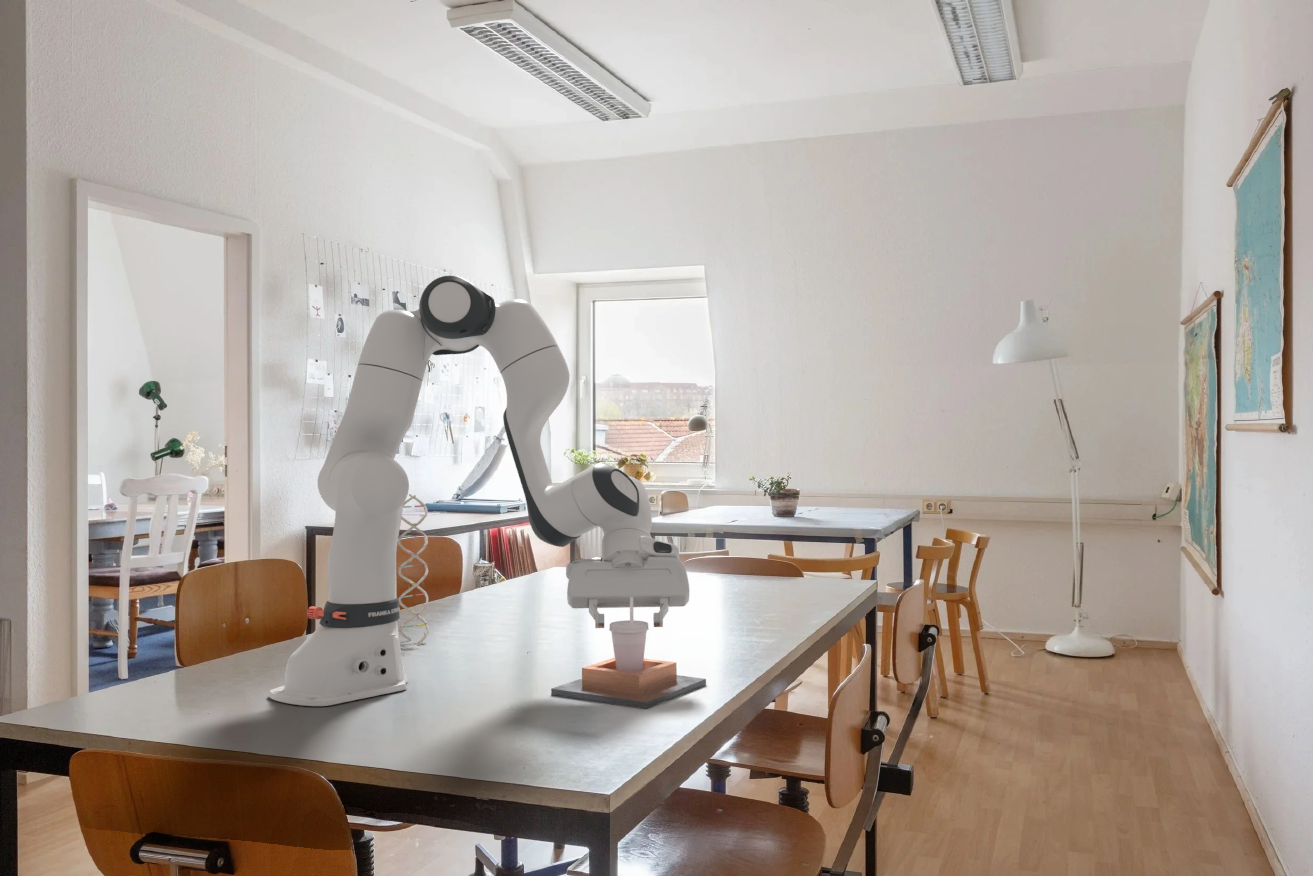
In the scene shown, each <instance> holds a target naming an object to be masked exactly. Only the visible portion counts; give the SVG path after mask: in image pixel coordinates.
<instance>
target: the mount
mask: <svg viewBox="0 0 1313 876" xmlns="http://www.w3.org/2000/svg"><path fill="white" fill-rule="evenodd" d="M705 686H707V679H706V678H703V677H702V678H701V677H693V676H686V675H679V674H678V671H677V662H676V661H669V660H660V659H653V658H644V660H643V670H642V671H639V672H629V671H621V670H616V663H615V657H613V658H612V657H611V658H609V659H606V660H603V661H600V662H596V663H594V664H590V665H587V666H583V667H581V678H580V679H576V680H573V681H570V682H567V683H565V684H561V685H558V686H554V687H551V689H550V691H551V693H550V694H551V696H558V697H563V698H571V699H575V700H584V701H589V702H597V703H604V704H609V705H616V706H623V707H627V708H628V707H630V708H637V709H642V710H648V709H650V708H653V707H654V706H657V705H660V704H663V703H665V702H667V701H670V700H672V699H675V698H678V697H680V696H682V695H685V694H687V693H689V692H692V691H695V690H697V689H700V688H702V687H705Z"/></svg>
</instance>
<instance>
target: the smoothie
mask: <svg viewBox="0 0 1313 876" xmlns="http://www.w3.org/2000/svg"><path fill="white" fill-rule="evenodd" d="M608 630H609V631H610V632H611V638H612V639H611V640H612V641H611V642H612V646H613V653H614V654H613V655H614V658H615V663H616V670H621V671H629V672H639V671H642V670H643V660H644V657H645V652H646V651H645V650H646V642H647V632H648V631H649V623H648V622H647V621H643V620H634V607H633V597H630V607H629V619H628V620H617V621H613V622H610V623H609V629H608Z"/></svg>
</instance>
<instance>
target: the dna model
mask: <svg viewBox="0 0 1313 876" xmlns="http://www.w3.org/2000/svg"><path fill="white" fill-rule="evenodd" d="M408 496H409V498H408V499H407V500H405V502H404V504H403V509H406V508H413V505H412V506H411V505H406V504H407V503H409V502H410V501H412V500H413V499H414V500H415V501H416V502H417V503H419V505H418V504H417V505H414V508H423V510H424V515H422V517H421V518H420V519H419V520H418V521H417V522H415V523H412V522H411V521H409V520H407V519H405V517H403V516H402V518H401V521H403V522H404V523H406V524H407V525H408V526H410V527H409V528H408V529H406V530H405V531H404V532H403V533H402V534H399V536H398V542H397V546H399V547H400V549H401V550H403V551H404V553H407V554H408V555H410V557H409V558H408V559H406V561H404V562H403V563H402V564H401V565H399V567H398V569H397V572H398V575H399V577H400V578H402V579H403V580H404V581H406V582H407V583H409V584H410V585H411V587H409V588H408V589H406V590H405V591H403V592H402V593H401V595H399V597H398V598H399V606H400V607H402V608H404V609H405V610H406V611H408V612H409V613H411V614H413V615H412V616H411V617H409V618H407V620H406V621H404V622H403V623H402V624H401V625H400V626H398V627H399V628H398V634H399V635H401V637H402V638H404V639H407V640H408V641H411V640H412V639H411V638H410V637H408V636H407V635H406V634H405V633H404V632H402V630H403V628H411V627H412V628H413V627H422V626H425V629H426V630H425V632H424V634H423V636H422V638H421V639H420V640H419V641H418V642H417V643H416V645H418V646H419V645H420V644H422V643H423V642H424V641H425V640H426V638H427V636H428V635H429V633H430V632H429V631H430V627H429V626H430V625H429V623H428V622H427V621H426V619H425V618H424V617H423V616H421V615H420V614H421V613H423V612H424V611H425V610H426V608H427V606H428V604H429V595H428V593H427V591H425V590H424V589H423V588H422V587H421V586H420V584H421V583H423V582H424V580H425V579H426V578H427V576H428V574H429V568H428V564H429V563H428V562H425V561H424V560H423V559H422V558H420V557H419V555H420V554H421V553H422V552H424V550H425V549H426V548H427V546H428V544H429V542H428V540H429V538H428V536H427V534H426V533H425V532H424V531H422V529H420V528H419V527H417V526H419V525H420V524H421V523H422V522H423V521H424V520H425V519H426V517H427V516H428V510H429V509H428V508H427V504H426V503H424V502H423V501H422V500H421V499H419V498H418V497H416V494H414V495H412V494H410V493H408ZM414 529H415V530H416V533H420V534H415V535H407V534H408V533H411V532H412V530H414ZM412 537H414V538H416V537H423V538H424V544H423V546H422V547H421V548H420V550H418V551H417V553H414V552H412V550H409V549H407V548H406V547H405V546H404V545H403V544H402V538H412ZM414 559H417V560H418V562H419V563H420V564H414V565H413V564H412V565H410V564H409V565H407V564H408V563H412V562H413V561H412V560H414ZM423 566H424V569H425V571H424V573H423V576H422V577H421V578H420V579H419V580H418V581H417V582H414V581H412V579H409V578H408V577H406V576H404V575H403V574H402V571H401V570H402V569H405V568H412V567H413V568H414V567H423ZM415 588H416V589H418V590H419V591H420V592H421V593H418V594H417V593H416V594H410V595H409V594H408V593H410V592H412V590H414V589H415ZM407 594H408V595H407ZM415 596H424V597H425V603H424V604H423V606H422V607H421V609H420V610H418V611H417V612H416V611H414V610H413V609H411V608H409V607H408V606H406V604H404V602H403V601H402V599H404V598H412V597H415ZM414 619H416V620H420V621H421V622H422V623H419V624H413V625H407V624H409V623H410V622H411V621H412V620H414Z"/></svg>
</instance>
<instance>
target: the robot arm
mask: <svg viewBox="0 0 1313 876" xmlns="http://www.w3.org/2000/svg"><path fill="white" fill-rule="evenodd" d="M479 347H482V348H484V349H485V350H486V351H487V352H489V354H490V356H491V357H492V358H493V360H494V362H495V364H496V366H497V369H498V371H499V373H500V375H501V377H502V380H503V382H504V387H505V392H506V406H505V407H506V408H505V410H504V412H503V416H502V417H503V418H502V420H503V426H504V431H505V434H506V436H507V437H506V438H507V442H508V445H509V449H510V452H511V455H512V459H513V461H514V464H515V468H516V470H517V474H518V477H519V480H520V484H521V488H522V490H523V493H524V497H525V502H526V509H527V515H528V520H529V524H530V527H531V529H532V531H533V533H534V535H535V536H536V537H537V538H538V539H539V540H540V541H542V542H543V543H546V544H548V545H551V546H555V547H558V548H559V547H561V548H563V547H566V546H568V545H569V544H571V543H572V542H574V541H576V540H577V539H578V538H580V537H581V536H583V535H585V534H586V533H588V532H590V531H592V530H594V529H596V528H601V529H602V532H603V537H602V540H601V557H591V558H580V557H579V558H575V560H573V561H570V562H569V563H567V565H566V568H565V570H566V571H565V575H566V576H565V577H566V578H567V579H568V582H567V590H566V591H567V592H566V596H567V597H566V598H567V604H568V605H569V607H571V608H572V609H588V613H589V614H590V616H591V617H592V619H593V621H594V622H595V623H594V624H595V626H594V628H595V629H605V613H600V612H599V611H598V609H609V608H610V609H611V608H612V609H614V608H617V609H618V608H630V597H633V608H659V611H658V612H653V620H652V621H653V628H663V625H664V619H665V616H667V614H668V612H669V609H670V608H672V607H676V608H677V607H679V608H680V607H685V606H686V605H688V603H689V602H690V583H689V578H688V573H687V570H686V569H687V568H686V566H685V563H683V561H681V559H680V551H679V546H678V545H676V544H673V543H669V542H665V541H662V540H658V539H655V538H653V537H652V535H651V532H652V526H653V521H652V519H653V517H652V509H651V503H650V498H649V495H648V492H647V489H646V487H645V486H644V484H643V483H642V482H641V481H640V480H639V479H638V478H635V477H633V476H629V475H628V474H626V472H624V471H623V470H621V469H619V468H617V467H615V466H612V465H610V464H607V463H603V462H601V463H596V464H594V465H592V466H589V467H587V468H586V469H584V470H582V471H580V472H578V473H577V474H575V475H574V476H572V477H570V478H568V479H566V480H564V481H563V482H561V483H558V484H557V485H554V484H553V480H552V479H551V478H552V477H551V474H550V473H549V469H548V466H547V465H548V464H547V462H546V459H545V455H544V452H543V449H542V445H541V436H542V433H543V429H544V427H545V426H546V425H545V424H546V423H547V421H548V420H549V418H550V417H551V415H552V414H553V413H554V412H555V410H557V408H558V407H559V405H560V404H561V402H562V401H563V400H564V397H565V396H566V393H567V391H568V387H569V383H570V370H569V366H568V364H567V362H566V359H565V356H564V355H563V353H562V351H561V349H560V347H559V345H558V343H557V341H556V339H555V337H554V336H553V333H552V331H551V330H550V328H549V327H548V326H547V324H546V322H545V321H544V318H542V317H541V315H540V314H539V312H538V311H537V310H536V309H535V307H534V306H533V305H532V304H531V303H530V302H528V301H527V300H524V299H518V298H515V299H509V300H505V301H501V302H499V303H496V302H495V299H494V297H493V296H492V295H490V294H489V293H487V292H485V291H484V290H482V289H481V288H480V287H478V286H477V285H476V284H474V283H473V282H471V281H469V280H467V279H465V278H463V277H461V276H457V275H444V276H440V277H438V278H435V279H434V280H432V281H431V282H430V283H429V284H428V285H427V286H426V287H425V288H424V290H423V292H422V294H421V296H420V299H419V304H418V309H417V310H411V311H408V310H403V309H390V310H385V311H383V312H382V313H380V314H379V315H378V316H377V317H376V319H375V320H374V322H373V324H372V326H371V328H370V329H369V333H368V334H367V336H366V339H365V342H364V345H363V347H362V350H361V353H360V356H359V359H358V362H357V366H356V371H355V374H354V378H353V380H352V384H351V388H350V392H349V397H348V400H347V403H346V407H345V410H344V412H343V415H342V418H341V420H340V423H339V425H338V428H337V430H336V432H335V434H334V437H333V440H332V442H331V445H330V446H329V449H328V453H327V455H326V458H325V461H324V463H323V466H322V467H321V469H320V471H319V472H318V473H319V474H318V477H317V488H318V493H319V495H320V497H321V499H322V500H323V502H324V503H325V505H326V506H328V508H329V509H331V510H333V511H334V512H335V515H334V516H335V518H334V524H333V531H332V537H331V542H330V543H331V544H330V546H329V547H330V548H329V550H328V553H327V588H328V589H327V592H328V593H327V594H328V596H327V597H328V598H327V599H328V600H327V601H326V602H325V605H324V607H320V606H318V607H317V606H309V607H308V609H307V610H306V614H307V615H306V616H307V617H308V619H311V620H314V619H315V620H319V627H317V628H316V629H315V630H314V632H312V634H311V635H309V636H308V638H306V640H305V641H304V642H303V643H301V645H299V646H298V647H297V649H296V650H294V652H293V653H291V655H290V656H289V657H288V659H287V662H286V667H285V670H284V671H285V672H284V682H283V684H284V685H281V686H279V687H276V688H272V689H270V690H269V698H270V699H271V700H274V701H276V702H280V703H284V704H290V705H297V706H303V707H304V706H305V707H306V706H307V707H328V706H334V705H339V704H344V703H347V702H353V701H356V700H362V699H367V698H371V697H377V696H380V695H385V694H391V693H396V692H401V691H404V690H407V682H408V677H407V673H406V669H405V666H404V662H403V658H402V657H403V656H402V648H401V642H400V641H401V640H400V636H399V635H400V634H399V628H398V627H399V626H398V625H399V624H398V620H399V619H400V616H401V615H400V610H401V609H400V607H401V606H400V604H399V597H398V596H397V548H398V539H399V536H400V530H401V523H402V519H401V518H402V517H403V511H404V510H403V509H404V508H403V504H404V502H405V501H406V499H407V497H408V496H409V489H410V485H409V483H410V482H409V477H408V475H407V473H406V470H405V469H404V468H403V466H402V465H401V464H400V463H398V461H396V460H395V457H396V455H397V453H398V450H399V448H400V446H401V444H402V442H403V440H404V438H405V436H406V434H407V433H408V431H409V430H410V428H411V426H412V424H413V420H414V415H415V413H416V409H417V404H418V400H419V396H420V393H421V388H422V384H423V382H424V377H425V373H426V368H427V365H428V362H429V359H430V358H431V356H432V355H434V356H443V355H445V356H446V355H462V354H463V355H464V354H467V353H471V352H473V351H475V350H477V348H479ZM669 607H670V608H669Z"/></svg>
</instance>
